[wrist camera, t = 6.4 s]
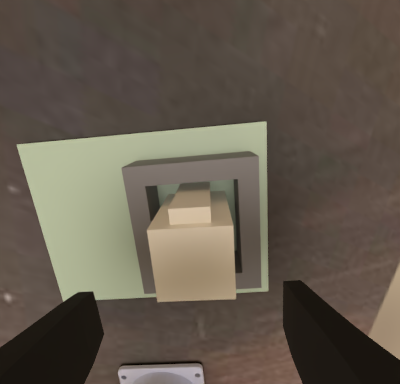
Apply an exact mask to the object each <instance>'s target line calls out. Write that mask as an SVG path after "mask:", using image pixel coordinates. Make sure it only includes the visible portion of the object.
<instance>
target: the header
mask: <svg viewBox="0 0 400 384" xmlns="http://www.w3.org/2000/svg"><path fill="white" fill-rule="evenodd" d="M17 148H18V151H19V154H20V158H21V161H22V165H23V168H24V171H25V175H26V178H27V181H28V185H29V188H30V191H31V195H32V198H33V201H34V205H35V208H36V211H37V215H38V218H39V222H40V225H41V228H42V232H43V235H44V238H45V242H46V245H47V248H48V252H49V255H50V258H51V262H52V265H53V268H54V272H55V275H56V279H57V282H58V285H59V289H60V292H61V295H62V299H63V302H64V301H66V300H67V299H68V298H70V297H71V296H73V295H74V294H76V293H78V292H90V291H93V292H94V296H95V300H105V299H125V298H145V297H157V295H156V289H155V282H154V275H153V268H152V262H151V255H150V248H149V242H148V235H147V229H148V227H149V226H150V224H151V222H152V221H153V219H154V217H155V216H156V214H157V212H158V211H159V209H160V207H161V206H162V204H163V202H164V201H165V199H166V197H167V196H168V194H176V192H177V190H178V188H179V186H180V184H186V183H202V182H210V191H224V190H225V194H226V198H227V202H228V206H229V210H230V214H231V218H232V222H233V229H234V254H235V280H236V293H244V292H264V291H268V218H267V131H266V121H265V122H255V123H244V124H233V125H222V126H212V127H201V128H190V129H179V130H169V131H158V132H147V133H136V134H126V135H115V136H104V137H93V138H82V139H72V140H61V141H50V142H39V143H29V144H18V145H17Z"/></svg>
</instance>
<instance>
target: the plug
mask: <svg viewBox="0 0 400 384" xmlns="http://www.w3.org/2000/svg"><path fill="white" fill-rule="evenodd" d="M147 235H148V242H149V248H150V255H151V262H152V268H153V275H154V282H155V289H156V295H157V302H170V301H197V300H225V299H236V280H235V254H234V229H233V222H232V218H231V214H230V210H229V206H228V202H227V198H226V194H225V190H224V191H210V182H202V183H186V184H180V186H179V188H178V190H177V192H176V194H168V196H167V197H166V199H165V201H164V202H163V204H162V206H161V207H160V209H159V211H158V212H157V214H156V216H155V217H154V219H153V221H152V222H151V224H150V226H149V227H148V229H147Z"/></svg>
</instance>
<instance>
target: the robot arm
mask: <svg viewBox="0 0 400 384" xmlns="http://www.w3.org/2000/svg"><path fill="white" fill-rule="evenodd" d="M283 328H284V331H285V335H286V338H287V342H288V345H289V348H290V352H291V355H292V358H293V361H294V363H295V366H296V368H297V371H298V373H299V376H300V378H301V380H302V383H303V384H400V360H399V359H398V358H396V357H395V356H393V355H392V354H391V353H389V352H388V351H387V350H385V349H383V347H381V346H380V345H379V344H377V343H376V342H374V341H373V340H372V339H371V338H369V337H368V336H367V335H365V334H364V333H363V332H362V331H360V330H359V329H358V328H356V327H355V326H354V325H353V324H351V323H350V322H349V321H348V320H347V319H345V318H344V317H343V316H342V315H340V314H339V313H338V312H337V311H336V310H334V309H333V308H332V307H331V306H330V305H329V304H327V303H326V302H325V301H324V300H323V299H322V298H320V297H319V296H318V295H317V294H316V293H315V292H313V291H312V290H311V289H310V288H309V287H308V286H307V285H305V284H304V283H303V282H302V281H301V280H298V281H283ZM103 335H104V332H103V328H102V324H101V320H100V316H99V312H98V308H97V304H96V300H95V296H94V292H93V291H90V292H78V293H76V294H74V295H73V296H71V297H70V298H68V299H67V300H66V301H64V302H63V303H61V304H60V305H59V306H57V307H56V308H54V309H53V310H52V311H50V312H49V313H48V314H46V315H45V316H43V317H42V318H41V319H39V320H38V321H37V322H35V323H34V324H33V325H31V326H30V327H28V328H27V329H26V330H24V331H23V332H22V333H20V334H19V335H17V336H16V337H15V338H13V339H12V340H10V341H9V342H7V343H6V344H5V345H3V346H2V347H0V384H84V383H85V381H86V379H87V376H88V374H89V372H90V370H91V368H92V366H93V364H94V361H95V358H96V355H97V353H98V350H99V347H100V344H101V341H102V338H103ZM118 375H119V379H120V383H121V384H205V383H204V374H203V367H202V365H201V364H199V363H191V364H161V365H131V366H121V367H120V368H119V370H118Z"/></svg>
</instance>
